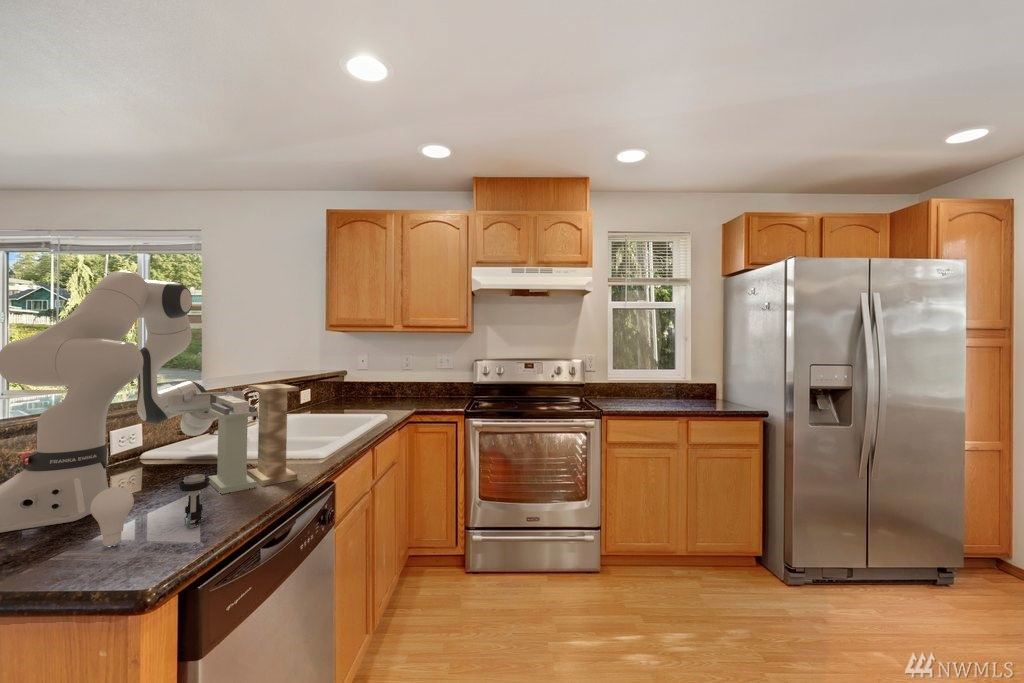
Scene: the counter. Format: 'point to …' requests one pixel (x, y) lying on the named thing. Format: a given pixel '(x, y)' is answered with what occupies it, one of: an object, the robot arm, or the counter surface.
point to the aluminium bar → (230, 403)
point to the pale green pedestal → (231, 450)
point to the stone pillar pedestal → (272, 435)
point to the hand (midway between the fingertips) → (212, 390)
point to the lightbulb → (112, 512)
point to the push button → (194, 497)
